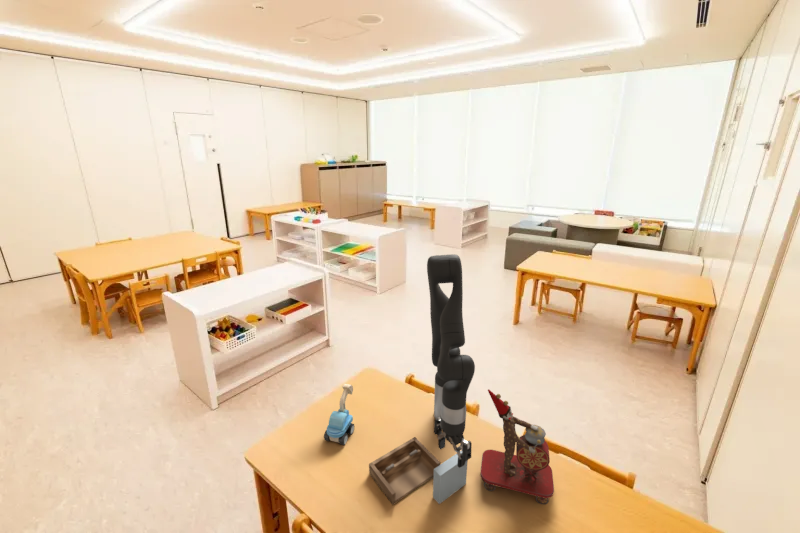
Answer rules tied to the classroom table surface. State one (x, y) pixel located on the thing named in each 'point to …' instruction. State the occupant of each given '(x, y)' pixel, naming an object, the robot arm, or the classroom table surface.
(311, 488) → the classroom table surface
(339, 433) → the toy excavator
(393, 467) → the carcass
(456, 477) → the blue-gray square slab
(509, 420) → the clown toy
